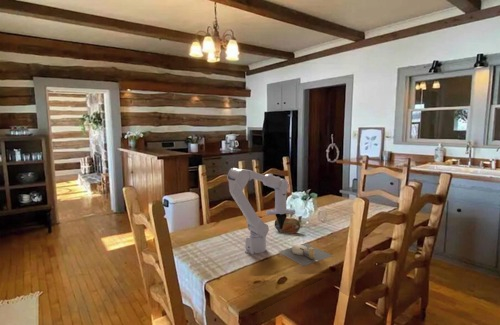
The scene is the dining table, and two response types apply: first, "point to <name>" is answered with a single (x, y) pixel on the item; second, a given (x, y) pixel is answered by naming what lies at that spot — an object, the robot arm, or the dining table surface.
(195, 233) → the dining table surface
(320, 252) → the stand plate
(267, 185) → the robot arm
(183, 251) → the dining table surface
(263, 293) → the dining table surface
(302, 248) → the cam dial
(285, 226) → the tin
